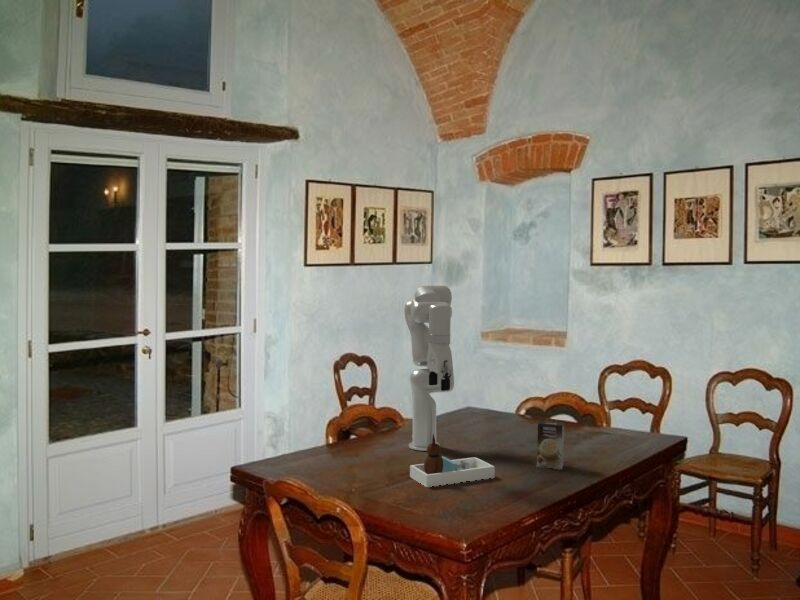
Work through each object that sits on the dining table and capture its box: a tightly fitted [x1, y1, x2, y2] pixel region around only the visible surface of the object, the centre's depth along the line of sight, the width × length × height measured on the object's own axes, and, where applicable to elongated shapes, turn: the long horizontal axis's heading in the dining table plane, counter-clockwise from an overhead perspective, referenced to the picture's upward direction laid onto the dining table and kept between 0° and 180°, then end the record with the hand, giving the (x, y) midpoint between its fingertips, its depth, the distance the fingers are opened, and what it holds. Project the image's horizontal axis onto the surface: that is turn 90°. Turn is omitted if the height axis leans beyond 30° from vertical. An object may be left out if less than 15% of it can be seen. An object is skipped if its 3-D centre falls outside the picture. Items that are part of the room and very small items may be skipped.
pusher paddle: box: [441, 455, 469, 472], centre depth 242 cm, size 10×7×5 cm
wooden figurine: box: [423, 435, 443, 474], centre depth 239 cm, size 7×6×15 cm
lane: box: [409, 456, 496, 488], centre depth 242 cm, size 13×26×4 cm, turn 114°
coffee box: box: [536, 419, 565, 470], centre depth 255 cm, size 9×6×16 cm
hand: (439, 387), depth 247 cm, fingers open, 9 cm apart
